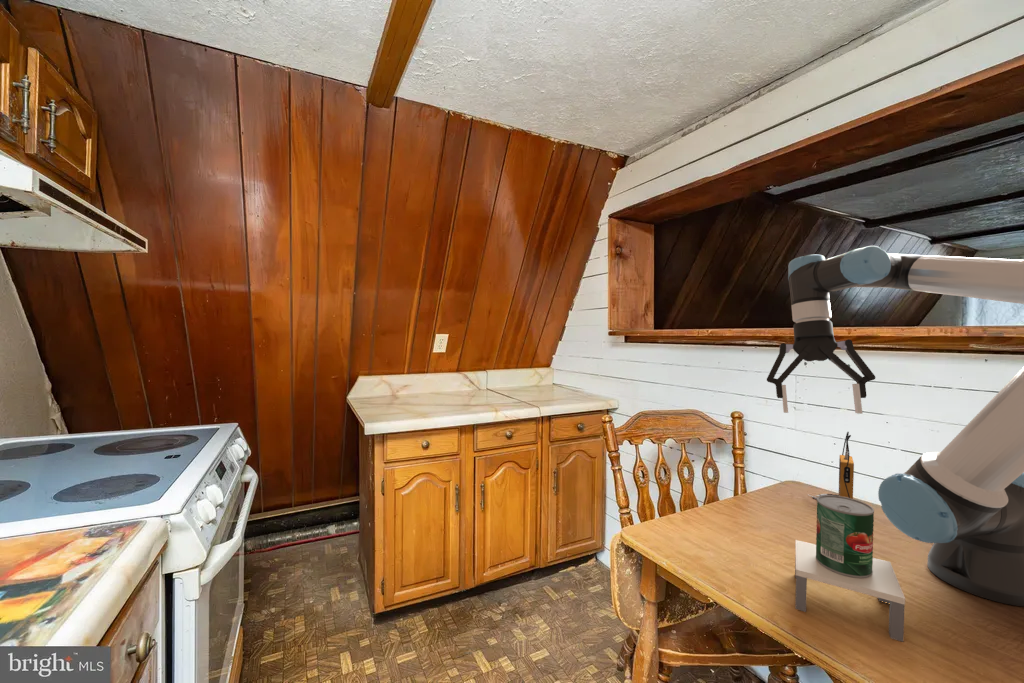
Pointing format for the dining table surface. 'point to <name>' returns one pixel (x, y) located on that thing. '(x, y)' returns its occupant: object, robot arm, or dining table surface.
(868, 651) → the dining table surface
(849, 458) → the multimeter
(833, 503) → the canned tomato
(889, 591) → the shelf
